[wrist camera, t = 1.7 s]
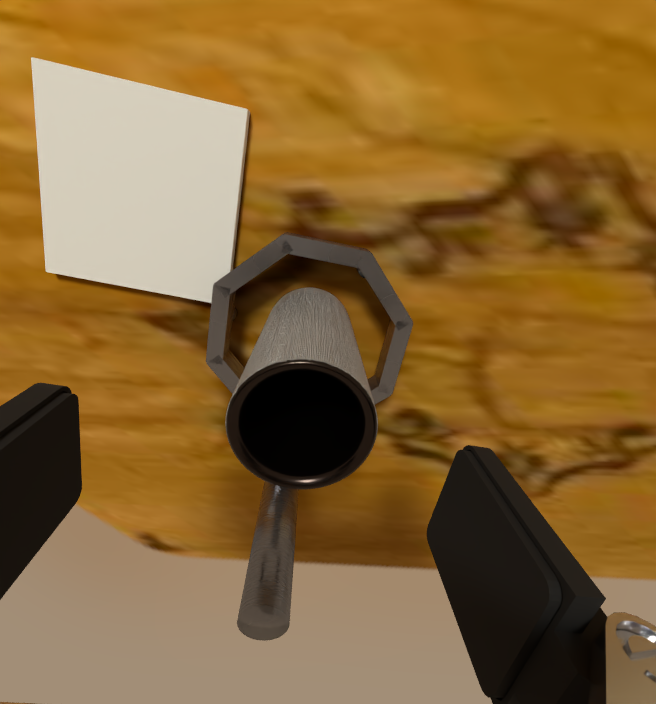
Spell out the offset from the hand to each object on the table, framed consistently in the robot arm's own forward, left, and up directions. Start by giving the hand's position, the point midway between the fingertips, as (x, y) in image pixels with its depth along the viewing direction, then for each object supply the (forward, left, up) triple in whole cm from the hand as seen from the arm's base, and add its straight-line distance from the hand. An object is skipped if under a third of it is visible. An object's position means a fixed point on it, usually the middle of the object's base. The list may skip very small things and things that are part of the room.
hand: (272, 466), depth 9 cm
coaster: (+8, -5, -12) cm, 16 cm away
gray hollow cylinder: (-1, 0, -12) cm, 12 cm away
